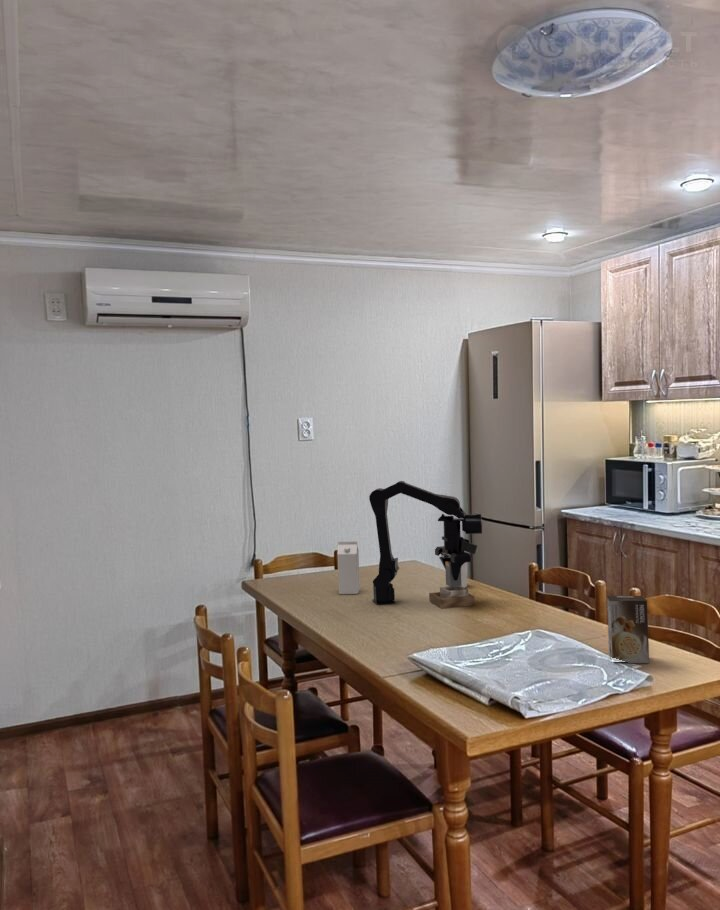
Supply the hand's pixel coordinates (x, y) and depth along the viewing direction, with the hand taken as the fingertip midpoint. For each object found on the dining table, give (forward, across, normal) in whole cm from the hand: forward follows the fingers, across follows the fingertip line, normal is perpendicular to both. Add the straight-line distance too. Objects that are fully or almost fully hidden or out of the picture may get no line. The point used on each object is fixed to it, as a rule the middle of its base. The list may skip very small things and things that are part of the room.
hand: (453, 579), depth 262 cm
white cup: (+8, +23, -11) cm, 27 cm away
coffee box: (+8, -74, -17) cm, 76 cm away
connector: (+2, 0, 0) cm, 2 cm away
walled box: (+8, 0, +1) cm, 8 cm away
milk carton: (+9, +31, +29) cm, 43 cm away
